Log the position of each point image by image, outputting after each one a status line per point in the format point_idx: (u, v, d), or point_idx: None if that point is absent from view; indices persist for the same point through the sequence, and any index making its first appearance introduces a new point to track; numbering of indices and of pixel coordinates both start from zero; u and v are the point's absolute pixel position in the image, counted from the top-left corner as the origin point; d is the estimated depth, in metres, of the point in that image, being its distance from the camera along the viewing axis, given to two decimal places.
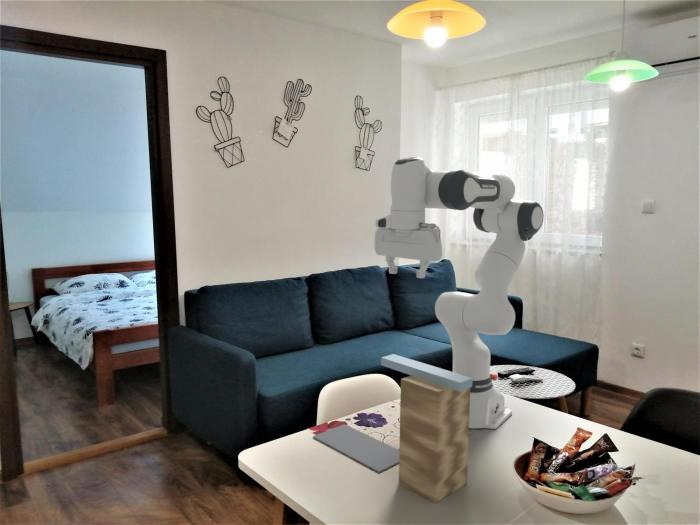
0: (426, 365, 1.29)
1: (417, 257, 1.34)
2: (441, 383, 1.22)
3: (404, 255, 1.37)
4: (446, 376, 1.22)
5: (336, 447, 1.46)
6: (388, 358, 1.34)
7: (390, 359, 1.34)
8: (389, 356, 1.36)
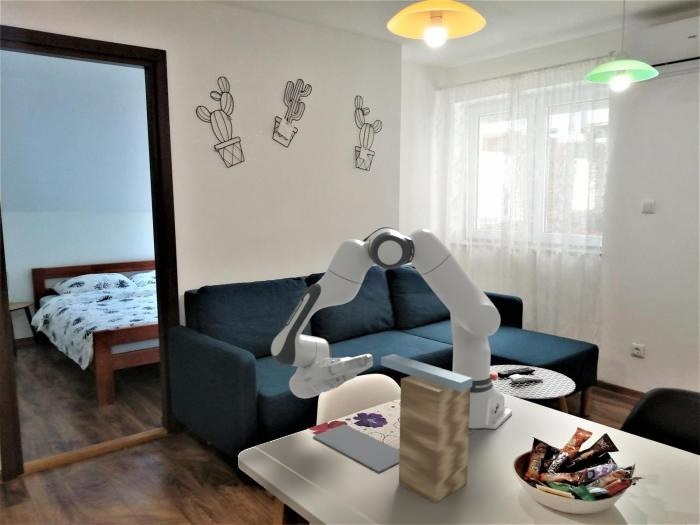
0: (426, 365, 1.29)
1: (334, 376, 1.45)
2: (441, 383, 1.22)
3: (346, 373, 1.48)
4: (446, 376, 1.22)
5: (336, 447, 1.46)
6: (388, 358, 1.34)
7: (390, 359, 1.34)
8: (389, 356, 1.36)
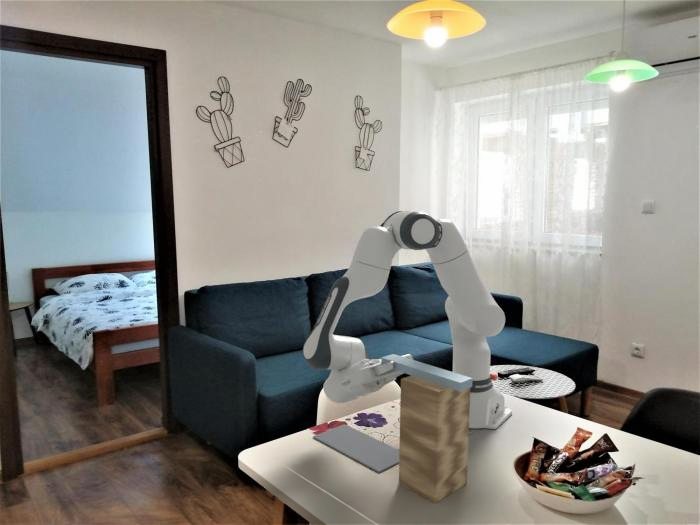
0: (426, 365, 1.29)
1: (376, 379, 1.33)
2: (441, 383, 1.22)
3: (387, 375, 1.36)
4: (446, 376, 1.22)
5: (336, 447, 1.46)
6: (388, 358, 1.34)
7: (390, 359, 1.34)
8: (389, 356, 1.36)
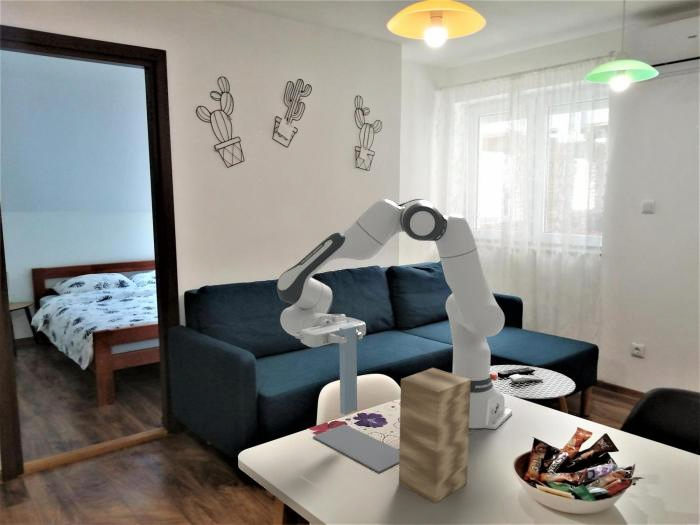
0: (354, 367, 1.49)
1: None
2: (341, 395, 1.48)
3: None
4: (347, 397, 1.48)
5: (336, 447, 1.46)
6: None
7: None
8: (350, 330, 1.46)
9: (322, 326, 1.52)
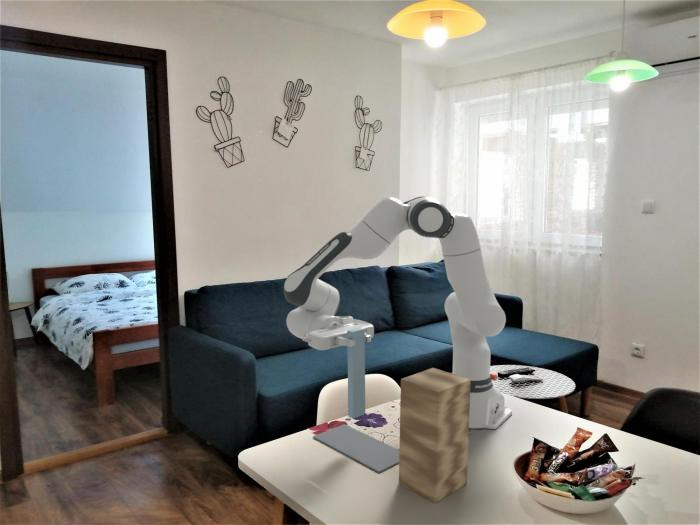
0: (362, 370, 1.46)
1: None
2: (349, 398, 1.46)
3: None
4: (355, 401, 1.46)
5: (336, 447, 1.46)
6: (354, 338, 1.43)
7: None
8: (358, 333, 1.44)
9: (330, 328, 1.49)
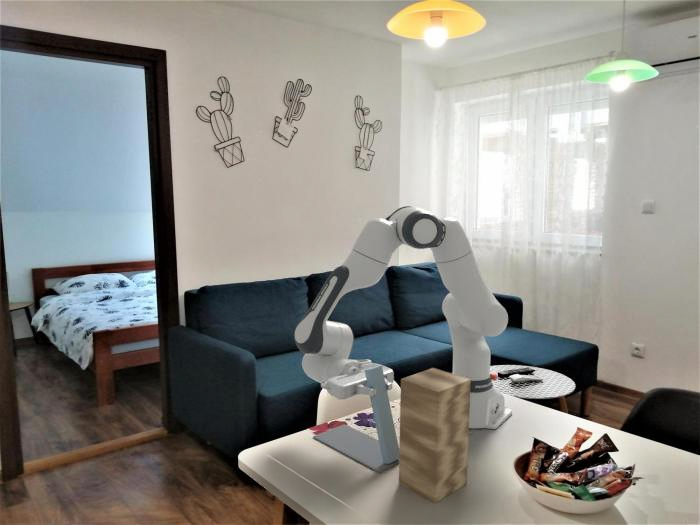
0: (388, 410, 1.40)
1: None
2: (380, 443, 1.38)
3: None
4: (387, 444, 1.37)
5: (336, 447, 1.46)
6: (373, 376, 1.39)
7: (373, 379, 1.39)
8: (376, 370, 1.40)
9: (349, 374, 1.45)
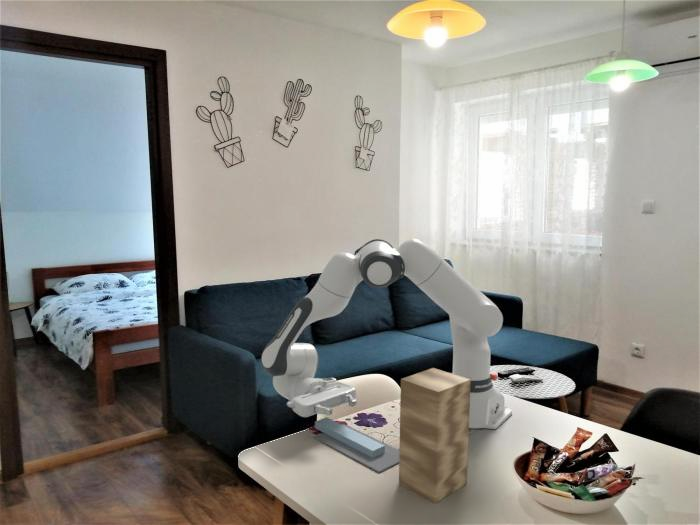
0: (350, 430, 1.52)
1: None
2: (359, 449, 1.44)
3: None
4: (363, 443, 1.44)
5: (336, 447, 1.46)
6: (320, 423, 1.57)
7: (322, 423, 1.56)
8: (322, 420, 1.59)
9: (313, 393, 1.57)
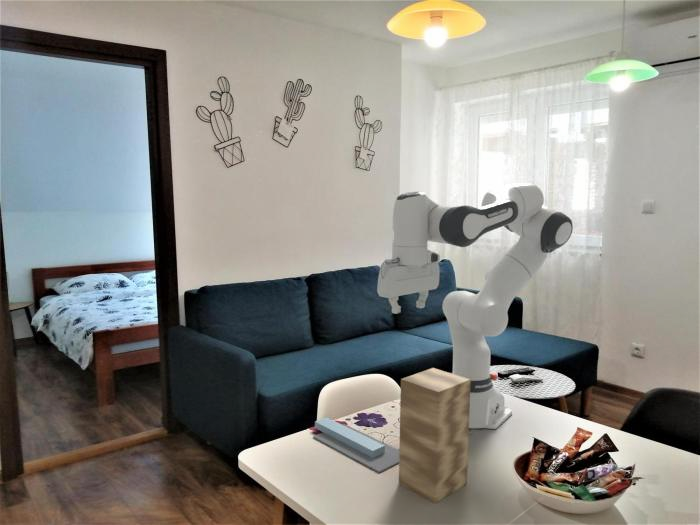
0: (350, 430, 1.52)
1: None
2: (359, 449, 1.44)
3: None
4: (363, 443, 1.44)
5: (336, 447, 1.46)
6: (320, 423, 1.57)
7: (322, 423, 1.56)
8: (322, 420, 1.59)
9: (408, 272, 1.34)
